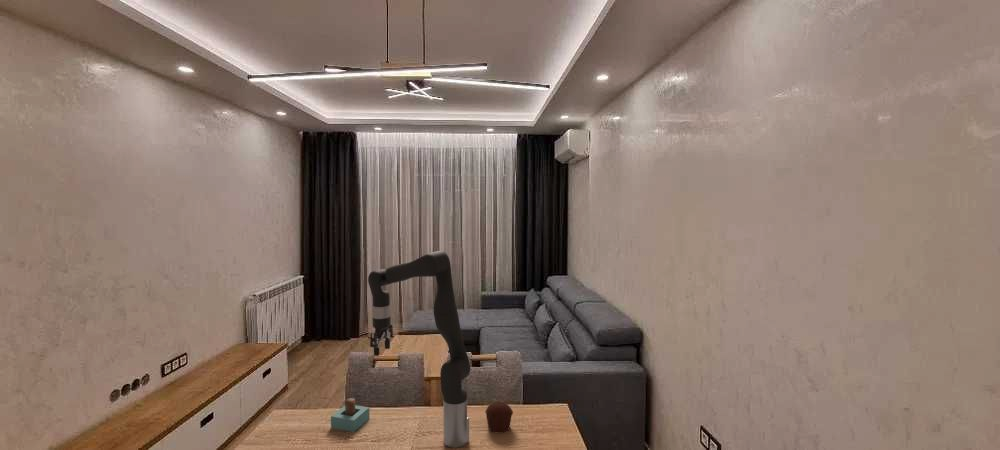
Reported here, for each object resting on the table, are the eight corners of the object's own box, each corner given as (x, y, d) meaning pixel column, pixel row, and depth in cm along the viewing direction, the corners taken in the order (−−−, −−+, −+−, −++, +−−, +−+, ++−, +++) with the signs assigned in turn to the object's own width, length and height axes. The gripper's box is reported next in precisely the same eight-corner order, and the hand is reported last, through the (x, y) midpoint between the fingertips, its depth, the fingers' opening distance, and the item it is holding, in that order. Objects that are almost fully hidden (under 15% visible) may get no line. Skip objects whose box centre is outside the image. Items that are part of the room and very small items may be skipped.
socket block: (347, 414, 193) (347, 403, 192) (369, 418, 189) (369, 407, 189) (331, 427, 182) (330, 416, 182) (354, 432, 179) (353, 420, 179)
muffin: (479, 425, 184) (480, 402, 184) (500, 417, 191) (500, 394, 190) (497, 438, 175) (497, 414, 174) (518, 428, 182) (518, 405, 181)
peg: (354, 419, 189) (354, 397, 188) (356, 424, 185) (355, 401, 184) (345, 422, 187) (344, 399, 186) (346, 426, 183) (345, 403, 182)
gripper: (380, 321, 182) (380, 359, 183) (397, 311, 195) (398, 347, 197) (364, 319, 184) (365, 357, 185) (382, 310, 197) (383, 345, 199)
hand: (382, 352), depth 191 cm, fingers open, 8 cm apart
